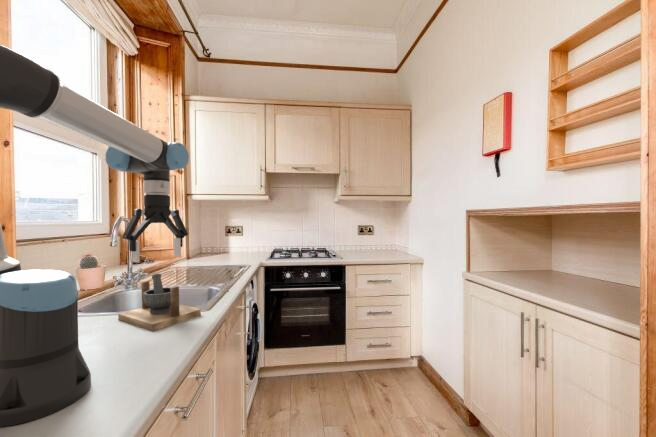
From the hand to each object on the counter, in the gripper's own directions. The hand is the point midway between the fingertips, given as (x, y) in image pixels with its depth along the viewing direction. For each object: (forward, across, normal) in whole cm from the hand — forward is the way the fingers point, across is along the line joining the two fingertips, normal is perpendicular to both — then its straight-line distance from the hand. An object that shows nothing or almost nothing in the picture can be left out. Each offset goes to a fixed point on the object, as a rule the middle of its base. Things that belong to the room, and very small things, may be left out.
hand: (157, 259), depth 101 cm
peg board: (+19, +1, 0) cm, 19 cm away
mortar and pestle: (+18, +1, 0) cm, 18 cm away
